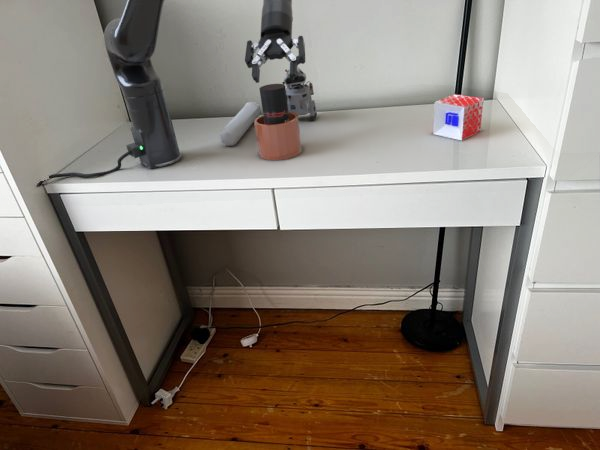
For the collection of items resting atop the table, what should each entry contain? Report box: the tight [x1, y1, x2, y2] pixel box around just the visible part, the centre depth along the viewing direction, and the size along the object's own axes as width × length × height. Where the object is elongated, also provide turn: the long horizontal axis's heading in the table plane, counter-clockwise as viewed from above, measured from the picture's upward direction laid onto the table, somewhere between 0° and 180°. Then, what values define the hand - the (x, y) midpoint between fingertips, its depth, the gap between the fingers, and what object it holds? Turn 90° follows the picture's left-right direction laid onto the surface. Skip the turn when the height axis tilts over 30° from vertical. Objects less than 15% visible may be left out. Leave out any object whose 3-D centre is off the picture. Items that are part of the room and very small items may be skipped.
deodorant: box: [259, 83, 289, 125], centre depth 106 cm, size 6×6×15 cm
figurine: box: [281, 66, 318, 122], centre depth 126 cm, size 9×12×15 cm
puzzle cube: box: [432, 93, 485, 141], centre depth 107 cm, size 8×8×8 cm
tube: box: [219, 101, 261, 147], centre depth 126 cm, size 5×5×25 cm
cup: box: [253, 112, 302, 161], centre depth 108 cm, size 10×10×8 cm
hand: (274, 79), depth 105 cm, fingers open, 8 cm apart
